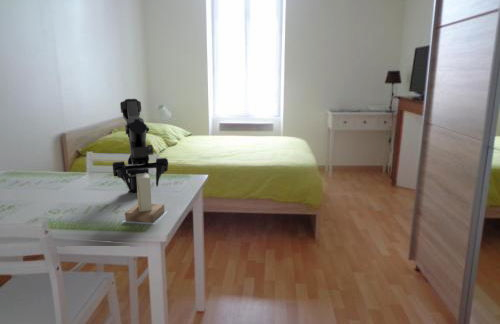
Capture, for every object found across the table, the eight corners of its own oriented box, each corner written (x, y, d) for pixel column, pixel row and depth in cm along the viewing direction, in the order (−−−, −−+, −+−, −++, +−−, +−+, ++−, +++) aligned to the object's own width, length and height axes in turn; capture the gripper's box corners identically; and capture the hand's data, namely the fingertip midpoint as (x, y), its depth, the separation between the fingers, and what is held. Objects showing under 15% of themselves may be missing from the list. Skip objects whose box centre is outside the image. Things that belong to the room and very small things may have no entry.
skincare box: (137, 206, 132) (135, 173, 129) (150, 204, 133) (148, 172, 131) (139, 212, 126) (136, 178, 123) (152, 210, 128) (150, 176, 125)
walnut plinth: (125, 221, 127) (124, 212, 126) (138, 210, 136) (138, 203, 135) (153, 222, 125) (152, 214, 124) (164, 212, 134) (164, 204, 134)
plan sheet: (121, 222, 126) (121, 222, 126) (137, 210, 137) (137, 209, 137) (154, 225, 124) (154, 224, 124) (168, 212, 135) (168, 211, 135)
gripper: (110, 139, 125) (113, 178, 117) (165, 135, 131) (172, 173, 124) (112, 157, 134) (115, 195, 126) (164, 152, 140) (170, 188, 133)
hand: (143, 187), depth 127 cm, fingers open, 9 cm apart
